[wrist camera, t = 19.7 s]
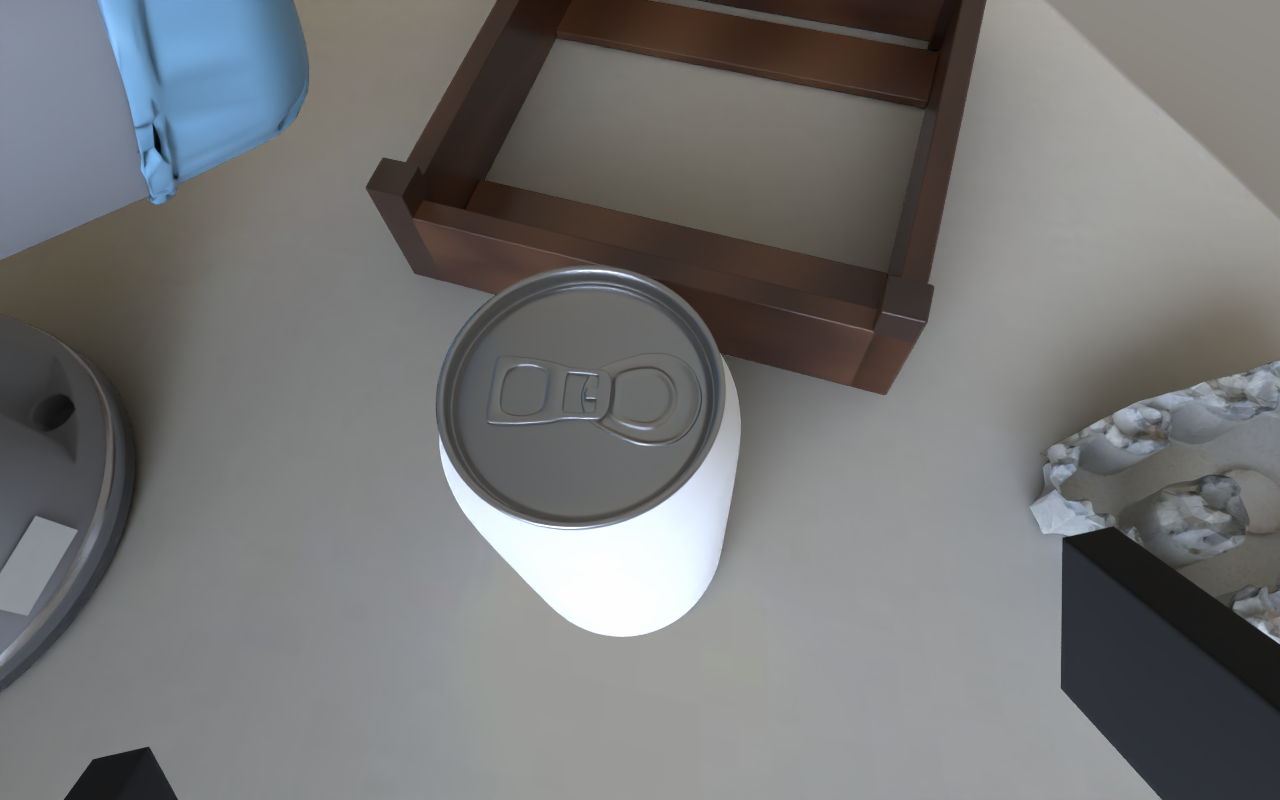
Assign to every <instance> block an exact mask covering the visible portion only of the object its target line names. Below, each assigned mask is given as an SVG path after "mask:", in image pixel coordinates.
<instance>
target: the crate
mask: <svg viewBox="0 0 1280 800" xmlns="http://www.w3.org/2000/svg"><path fill="white" fill-rule="evenodd" d="M700 1H705V2H711V3H717V4H723V5H728V6H734V7H740V8H745V9H751V10H757V11H762V12H768V13H774V14H779V15H785V16H791V17H796V18H802V19H808V20H813V21H819V22H825V23H830V24H836V25H842V26H848V27H853V28H859V29H865V30H870V31H876V32H882V33H887V34H893V35H899V36H904V37H910V38H916V39H921V40H927V41H929V45H928V49H932V50H937V51H939V52H935V51H929V50H923V49H918V48H912V47H906V46H901V45H895V44H890V43H884V42H878V41H873V40H867V39H862V38H856V37H850V36H845V35H839V34H833V33H828V32H822V31H817V30H811V29H805V28H800V27H794V26H789V25H783V24H777V23H772V22H766V21H761V20H755V19H749V18H744V17H738V16H732V15H727V14H721V13H716V12H710V11H704V10H699V9H693V8H688V7H682V6H676V5H671V4H665V3H660V2H654V1H648V0H497V2H496V4H495V5H494V7H493V9H492V11H491V12H490V14H489V16H488V18H487V20H486V21H485V23H484V25H483V27H482V28H481V30H480V32H479V34H478V35H477V37H476V39H475V41H474V43H473V44H472V46H471V48H470V50H469V51H468V53H467V55H466V57H465V58H464V60H463V62H462V64H461V66H460V67H459V69H458V71H457V73H456V74H455V76H454V78H453V80H452V81H451V83H450V85H449V87H448V89H447V90H446V92H445V94H444V96H443V97H442V99H441V101H440V103H439V104H438V106H437V108H436V110H435V112H434V113H433V115H432V117H431V119H430V120H429V122H428V124H427V126H426V127H425V129H424V131H423V133H422V135H421V136H420V138H419V140H418V142H417V143H416V145H415V147H414V149H413V150H412V152H411V154H410V156H409V158H408V159H407V161H406V163H405V162H401V161H397V160H393V159H388V158H382V160H381V161H380V163H379V165H378V167H377V168H376V170H375V172H374V173H373V175H372V177H371V179H370V180H369V182H368V184H367V186H366V190H367V191H368V193H369V195H370V197H371V198H372V200H373V202H374V204H375V205H376V207H377V209H378V211H379V212H380V214H381V216H382V218H383V219H384V221H385V223H386V225H387V226H388V228H389V230H390V231H391V233H392V235H393V237H394V238H395V240H396V242H397V244H398V245H399V247H400V249H401V251H402V252H403V254H404V256H405V258H406V259H407V261H408V263H409V265H410V266H411V268H412V270H413V271H414V273H415V274H418V275H422V276H426V277H430V278H434V279H438V280H442V281H446V282H450V283H454V284H458V285H462V286H465V287H469V288H473V289H477V290H481V291H485V292H489V293H492V294H498V293H499V292H501V291H502V290H504V289H506V288H507V287H509V286H511V285H513V284H514V283H516V282H518V281H521V280H523V279H525V278H527V277H530V276H532V275H535V274H538V273H541V272H545V271H548V270H552V269H557V268H562V267H569V266H580V265H598V266H609V267H615V268H621V269H625V270H629V271H633V272H636V273H639V274H642V275H644V276H647V277H649V278H651V279H653V280H655V281H657V282H659V283H661V284H663V285H665V286H666V287H668V288H669V289H671V290H672V291H674V292H675V293H677V294H678V295H679V296H680V297H682V298H683V299H684V300H685V301H686V302H687V303H688V304H689V305H690V306H691V307H692V308H693V309H694V310H695V311H696V312H697V313H698V314H699V316H700V317H701V318H702V320H703V321H704V322H705V324H706V325H707V327H708V329H709V330H710V332H711V334H712V336H713V338H714V340H715V342H716V344H717V347H718V349H719V352H720V353H724V354H728V355H732V356H736V357H739V358H743V359H747V360H751V361H755V362H759V363H763V364H766V365H770V366H774V367H778V368H782V369H786V370H790V371H794V372H797V373H801V374H805V375H809V376H813V377H817V378H821V379H824V380H828V381H832V382H836V383H840V384H844V385H848V386H851V387H855V388H859V389H863V390H867V391H871V392H875V393H878V394H882V395H886V394H887V392H888V390H889V388H890V387H891V385H892V383H893V382H894V380H895V378H896V376H897V375H898V373H899V371H900V369H901V368H902V366H903V364H904V362H905V361H906V359H907V357H908V355H909V354H910V352H911V350H912V349H913V347H914V345H915V343H916V342H917V339H918V338H919V336H920V334H921V332H922V331H923V329H924V327H925V325H926V324H927V322H928V317H929V312H930V307H931V302H932V297H933V292H934V286H933V285H931V284H928V282H929V277H930V273H931V268H932V263H933V258H934V253H935V248H936V243H937V238H938V234H939V229H940V224H941V219H942V214H943V209H944V204H945V199H946V194H947V190H948V185H949V180H950V175H951V170H952V165H953V160H954V155H955V150H956V146H957V141H958V136H959V131H960V126H961V121H962V116H963V111H964V107H965V102H966V97H967V92H968V87H969V82H970V77H971V72H972V67H973V63H974V58H975V53H976V48H977V43H978V38H979V33H980V28H981V23H982V19H983V14H984V9H985V4H986V0H700ZM556 37H558V38H562V39H568V40H573V41H578V42H583V43H588V44H594V45H599V46H604V47H609V48H615V49H620V50H625V51H630V52H636V53H641V54H646V55H651V56H656V57H662V58H667V59H672V60H677V61H683V62H688V63H693V64H698V65H703V66H709V67H714V68H719V69H724V70H730V71H735V72H740V73H745V74H750V75H756V76H761V77H766V78H771V79H777V80H782V81H787V82H792V83H797V84H803V85H808V86H813V87H818V88H824V89H829V90H834V91H839V92H844V93H850V94H855V95H860V96H865V97H871V98H876V99H881V100H886V101H892V102H897V103H902V104H907V105H912V106H918V107H923V108H925V107H926V110H925V114H924V118H923V123H922V127H921V131H920V136H919V140H918V144H917V149H916V153H915V157H914V162H913V166H912V170H911V175H910V179H909V183H908V188H907V192H906V196H905V201H904V205H903V209H902V214H901V218H900V222H899V227H898V231H897V235H896V240H895V244H894V248H893V252H892V257H891V261H890V265H889V270H888V274H887V273H883V272H879V271H875V270H870V269H866V268H862V267H857V266H853V265H849V264H844V263H840V262H836V261H831V260H827V259H823V258H818V257H814V256H810V255H805V254H801V253H797V252H792V251H788V250H784V249H779V248H775V247H771V246H766V245H762V244H758V243H753V242H749V241H745V240H740V239H736V238H732V237H727V236H723V235H719V234H714V233H710V232H706V231H701V230H697V229H693V228H688V227H684V226H680V225H675V224H671V223H667V222H662V221H658V220H654V219H650V218H645V217H641V216H637V215H632V214H628V213H624V212H619V211H615V210H611V209H606V208H602V207H598V206H593V205H589V204H585V203H580V202H576V201H572V200H567V199H563V198H559V197H554V196H550V195H546V194H541V193H537V192H533V191H528V190H524V189H520V188H515V187H511V186H507V185H502V184H498V183H494V182H489V181H485V180H484V179H485V177H486V175H487V173H488V171H489V169H490V167H491V165H492V163H493V161H494V159H495V157H496V155H497V153H498V151H499V149H500V147H501V145H502V143H503V141H504V139H505V138H506V136H507V134H508V132H509V130H510V128H511V126H512V124H513V122H514V120H515V118H516V116H517V114H518V112H519V110H520V108H521V106H522V104H523V102H524V100H525V98H526V96H527V94H528V92H529V90H530V88H531V86H532V84H533V82H534V80H535V78H536V76H537V75H538V73H539V71H540V69H541V67H542V65H543V63H544V61H545V59H546V57H547V55H548V53H549V51H550V49H551V47H552V45H553V43H554V41H555V39H556Z"/></svg>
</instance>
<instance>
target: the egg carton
mask: <svg viewBox="0 0 1280 800" xmlns="http://www.w3.org/2000/svg"><path fill="white" fill-rule="evenodd" d="M1040 454H1042V455H1045V456H1047V457H1048V458H1049V460H1050V462H1048V463H1046V464H1045V465H1044V466H1043V473H1044V480H1045V484H1044V487H1043V490H1042V493H1041V495H1040V496H1039V497H1038V498H1036V499H1035V501H1034V502H1033V503H1032V504H1031V506H1030V509H1031V511H1032V513H1033V515H1034V517H1035V518H1036V520H1037V522H1038V523H1039V525H1040V528H1041V531H1042V532H1043V533H1044V534H1050V533H1057V534H1064V535H1067V536H1073V535H1077V534H1082V533H1086V532H1090V531H1095V530H1099V529H1104V528H1108V527H1112V526H1114V527H1115V528H1117V529H1118V530H1119V531H1121V532H1122V533H1124V534H1125V535H1126V536H1128V537H1129V538H1131V539H1132V540H1134V541H1135V542H1136V543H1138V544H1139V545H1141V546H1142V547H1143V548H1145V549H1146V550H1148V551H1149V552H1150V553H1152V554H1153V555H1155V556H1156V557H1158V558H1159V559H1160V560H1162V561H1163V562H1165V563H1166V564H1167V565H1169V566H1170V567H1172V568H1173V569H1174V570H1176V571H1177V572H1179V573H1180V574H1181V575H1183V576H1184V577H1186V578H1187V579H1189V580H1190V581H1191V582H1193V583H1194V584H1196V585H1197V586H1198V587H1200V588H1201V589H1203V590H1204V591H1205V592H1207V593H1208V594H1210V595H1211V596H1213V597H1214V598H1215V599H1217V600H1218V601H1220V602H1221V603H1222V604H1224V605H1225V606H1227V607H1228V608H1229V609H1231V610H1232V611H1234V612H1235V613H1237V614H1238V615H1239V616H1241V617H1242V618H1244V619H1245V620H1246V621H1248V622H1249V623H1251V624H1252V625H1253V626H1255V627H1256V628H1258V629H1259V630H1261V631H1262V632H1263V633H1265V634H1266V635H1268V636H1269V637H1270V638H1272V639H1273V640H1275V641H1276V642H1277V643H1279V644H1280V360H1277V361H1274V362H1271V363H1267V364H1265V365H1262V366H1260V367H1257V368H1255V369H1252V370H1249V371H1246V372H1243V373H1239V374H1235V375H1232V376H1228V377H1223V378H1218V379H1214V380H1210V381H1206V382H1203V383H1200V384H1198V385H1195V386H1193V387H1191V388H1187V389H1183V390H1179V391H1175V392H1171V393H1167V394H1164V395H1161V396H1157V397H1154V398H1150V399H1146V400H1142V401H1138V402H1136V403H1134V404H1132V405H1130V406H1128V407H1126V408H1124V409H1122V410H1120V411H1118V412H1115V413H1113V414H1111V415H1109V416H1107V417H1105V418H1103V419H1101V420H1100V421H1098V422H1096V423H1094V424H1092V425H1090V426H1089V427H1087V428H1085V429H1083V430H1081V431H1079V432H1077V433H1076V434H1074V435H1071V436H1069V437H1067V438H1065V439H1063V440H1061V441H1059V442H1057V443H1055V444H1054V445H1053V446H1051V447H1049V448H1047V449H1045V450H1043V451H1041V453H1040Z"/></svg>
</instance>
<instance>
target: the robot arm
mask: <svg viewBox="0 0 1280 800" xmlns="http://www.w3.org/2000/svg"><path fill="white" fill-rule="evenodd" d="M308 85H309V60H308V53H307V47H306V42H305V39H304V35H303V31H302V28H301V24H300V21H299V17H298V14H297V11H296V7H295V4H294V1H293V0H0V260H2V259H4V258H7V257H9V256H11V255H13V254H16V253H18V252H20V251H23V250H25V249H27V248H30V247H32V246H34V245H37V244H39V243H41V242H44V241H46V240H48V239H50V238H53V237H55V236H57V235H60V234H62V233H64V232H67V231H69V230H71V229H74V228H76V227H78V226H81V225H83V224H85V223H87V222H90V221H92V220H94V219H97V218H99V217H101V216H104V215H106V214H108V213H111V212H113V211H115V210H118V209H120V208H122V207H124V206H127V205H129V204H131V203H134V202H136V201H138V200H141V199H143V198H145V197H147V199H148V200H149V201H150V202H152V203H154V204H156V205H159V204H161V203H164V202H167V201H168V200H170V199H171V198H172V197H174V196H175V193H176V190H177V187H178V185H179V184H181V183H183V182H185V181H187V180H189V179H191V178H193V177H195V176H197V175H200V174H202V173H204V172H206V171H208V170H210V169H212V168H214V167H216V166H218V165H220V164H222V163H224V162H226V161H228V160H231V159H233V158H235V157H237V156H239V155H241V154H243V153H245V152H247V151H249V150H251V149H253V148H255V147H257V146H259V145H261V144H264V143H266V142H268V141H270V140H271V139H273V138H275V137H276V136H278V135H279V134H280V133H281V132H282V131H284V130H285V129H286V128H287V127H288V126H290V124H291V123H292V122H293V121H294V120H295V118H296V117H297V115H298V113H299V111H300V109H301V107H302V104H303V102H304V99H305V96H306V94H307V92H308ZM134 474H135V449H134V440H133V434H132V428H131V424H130V421H129V417H128V414H127V411H126V409H125V406H124V404H123V402H122V400H121V398H120V396H119V394H118V392H117V391H116V389H115V388H114V386H113V384H112V383H111V382H110V380H109V379H108V378H107V377H106V376H105V374H104V373H103V372H102V371H101V370H100V369H99V368H98V367H97V366H95V365H94V364H93V363H92V362H91V361H90V360H88V359H87V358H85V357H84V356H82V355H81V354H80V353H78V352H77V351H75V350H73V349H72V348H70V347H69V346H67V345H66V344H64V343H63V342H61V341H59V340H58V339H56V338H55V337H53V336H52V335H50V334H48V333H46V332H44V331H42V330H40V329H38V328H36V327H34V326H31V325H28V324H25V323H23V322H21V321H18V320H16V319H13V318H10V317H8V316H5V315H2V314H0V692H1V691H2V690H3V689H5V688H6V687H8V686H9V685H10V684H11V683H12V682H13V681H15V680H16V679H17V678H18V677H19V676H20V675H22V674H23V673H24V672H25V671H26V670H27V669H29V668H30V667H31V666H32V665H33V664H34V663H35V662H36V661H37V660H38V659H39V658H40V657H41V656H42V655H43V654H44V653H45V652H46V651H47V650H48V649H49V648H50V647H51V646H52V645H53V643H54V642H55V641H56V640H57V639H58V638H59V637H60V635H61V634H62V633H63V632H64V631H65V630H66V629H67V627H68V626H69V625H70V623H71V622H72V621H73V620H74V618H75V617H76V616H77V614H78V613H79V612H80V610H81V609H82V608H83V606H84V605H85V603H86V602H87V600H88V599H89V597H90V595H91V594H92V592H93V591H94V589H95V588H96V586H97V584H98V583H99V581H100V579H101V577H102V575H103V574H104V572H105V570H106V568H107V566H108V564H109V562H110V560H111V558H112V556H113V553H114V551H115V549H116V547H117V544H118V542H119V539H120V536H121V534H122V531H123V528H124V525H125V522H126V518H127V515H128V511H129V507H130V503H131V498H132V491H133V485H134ZM1061 689H1062V690H1063V691H1064V692H1065V693H1066V694H1067V696H1068V697H1069V698H1070V699H1071V700H1072V701H1073V702H1074V703H1075V704H1076V705H1077V707H1078V708H1079V709H1080V710H1081V711H1082V712H1083V713H1084V714H1085V715H1086V716H1087V718H1088V719H1089V720H1090V721H1091V722H1092V723H1093V724H1094V725H1095V726H1096V727H1097V729H1098V730H1099V731H1100V732H1101V733H1102V734H1103V735H1104V736H1105V737H1106V738H1107V740H1108V741H1109V742H1110V743H1111V744H1112V745H1113V746H1114V747H1115V748H1116V749H1117V751H1118V752H1119V753H1120V754H1121V755H1122V756H1123V757H1124V758H1125V759H1126V760H1127V762H1128V763H1129V764H1130V765H1131V766H1132V767H1133V768H1134V769H1135V770H1136V771H1137V773H1138V774H1139V775H1140V776H1141V777H1142V778H1143V779H1144V780H1145V781H1146V782H1147V784H1148V785H1149V786H1150V787H1151V788H1152V789H1153V790H1154V791H1155V792H1156V793H1157V795H1158V796H1159V797H1160V798H1161V799H1162V800H1280V644H1279V643H1277V642H1276V641H1275V640H1273V639H1272V638H1270V637H1269V636H1268V635H1266V634H1265V633H1263V632H1262V631H1261V630H1259V629H1258V628H1256V627H1255V626H1253V625H1252V624H1251V623H1249V622H1248V621H1246V620H1245V619H1244V618H1242V617H1241V616H1239V615H1238V614H1237V613H1235V612H1234V611H1232V610H1231V609H1229V608H1228V607H1227V606H1225V605H1224V604H1222V603H1221V602H1220V601H1218V600H1217V599H1215V598H1214V597H1213V596H1211V595H1210V594H1208V593H1207V592H1205V591H1204V590H1203V589H1201V588H1200V587H1198V586H1197V585H1196V584H1194V583H1193V582H1191V581H1190V580H1189V579H1187V578H1186V577H1184V576H1183V575H1181V574H1180V573H1179V572H1177V571H1176V570H1174V569H1173V568H1172V567H1170V566H1169V565H1167V564H1166V563H1165V562H1163V561H1162V560H1160V559H1159V558H1158V557H1156V556H1155V555H1153V554H1152V553H1150V552H1149V551H1148V550H1146V549H1145V548H1143V547H1142V546H1141V545H1139V544H1138V543H1136V542H1135V541H1134V540H1132V539H1131V538H1129V537H1128V536H1126V535H1125V534H1124V533H1122V532H1121V531H1119V530H1118V529H1117V528H1115V527H1114V526H1112V527H1108V528H1104V529H1099V530H1095V531H1090V532H1086V533H1082V534H1077V535H1073V536H1069V537H1064V538H1063V552H1062V637H1061ZM64 800H178V799H177V797H176V795H175V793H174V792H173V790H172V788H171V786H170V784H169V782H168V781H167V779H166V777H165V775H164V773H163V771H162V770H161V768H160V766H159V764H158V762H157V760H156V759H155V757H154V755H153V753H152V751H151V749H150V748H149V747H145V748H141V749H137V750H132V751H128V752H123V753H119V754H115V755H110V756H106V757H102V758H97V759H93V760H92V762H91V763H90V764H89V766H88V767H87V768H86V770H85V771H84V773H83V774H82V775H81V777H80V778H79V779H78V781H77V782H76V784H75V785H74V786H73V788H72V789H71V790H70V792H69V793H68V795H67V796H66V797H65V799H64Z"/></svg>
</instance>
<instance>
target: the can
mask: <svg viewBox="0 0 1280 800" xmlns="http://www.w3.org/2000/svg"><path fill="white" fill-rule="evenodd" d="M436 416H437V424H438V430H439V445H440V454H441V460H442V465H443V469H444V472H445V475H446V478H447V481H448V484H449V486H450V488H451V490H452V492H453V494H454V496H455V498H456V500H457V502H458V504H459V506H460V507H461V509H462V510H463V512H464V513H465V515H466V516H467V517H468V519H469V520H470V521H471V522H472V524H473V525H474V526H475V527H476V529H477V530H478V531H479V532H480V533H481V534H482V535H483V537H484V538H485V539H486V540H487V541H488V542H489V543H490V544H491V545H492V546H493V547H494V548H495V550H496V551H497V552H498V553H499V554H500V555H501V556H502V557H503V558H504V559H505V560H506V561H507V562H508V563H509V564H510V565H511V566H512V567H513V568H514V569H515V570H516V572H517V573H518V574H519V575H520V576H521V577H522V578H523V579H524V580H525V581H526V582H527V583H528V584H529V585H530V586H531V587H532V588H533V589H534V590H535V591H536V592H537V593H538V594H539V595H540V596H541V597H542V598H543V599H544V600H545V601H546V602H547V603H548V604H549V605H550V606H551V607H552V608H553V609H554V610H556V611H557V612H558V613H559V614H560V615H562V616H563V617H564V618H566V619H567V620H568V621H570V622H572V623H573V624H575V625H577V626H579V627H581V628H583V629H586V630H588V631H591V632H594V633H598V634H602V635H608V636H620V637H622V636H636V635H642V634H646V633H650V632H653V631H656V630H658V629H661V628H663V627H665V626H667V625H669V624H671V623H673V622H674V621H676V620H677V619H679V618H680V617H681V616H683V615H684V614H685V613H686V612H688V611H689V610H690V609H691V608H692V607H693V606H694V605H695V604H696V602H697V601H698V600H699V599H700V598H701V596H702V595H703V593H704V592H705V590H706V589H707V587H708V586H709V584H710V582H711V580H712V578H713V576H714V574H715V572H716V569H717V566H718V563H719V559H720V555H721V550H722V546H723V540H724V535H725V530H726V525H727V520H728V514H729V509H730V503H731V498H732V492H733V486H734V480H735V475H736V468H737V462H738V456H739V447H740V437H741V417H740V407H739V400H738V395H737V391H736V387H735V384H734V381H733V378H732V375H731V373H730V370H729V368H728V366H727V364H726V362H725V360H724V358H723V357H722V355H721V353H720V352H719V349H718V347H717V344H716V342H715V340H714V338H713V336H712V334H711V332H710V330H709V329H708V327H707V325H706V324H705V322H704V321H703V320H702V318H701V317H700V316H699V314H698V313H697V312H696V311H695V310H694V309H693V308H692V307H691V306H690V305H689V304H688V303H687V302H686V301H685V300H684V299H683V298H682V297H680V296H679V295H678V294H677V293H675V292H674V291H672V290H671V289H669V288H668V287H666V286H665V285H663V284H661V283H659V282H657V281H655V280H653V279H651V278H649V277H647V276H644V275H642V274H639V273H636V272H633V271H629V270H625V269H621V268H615V267H609V266H598V265H580V266H569V267H562V268H557V269H552V270H548V271H545V272H541V273H538V274H535V275H532V276H530V277H527V278H525V279H523V280H521V281H518V282H516V283H514V284H513V285H511V286H509V287H507V288H506V289H504V290H502V291H501V292H499V293H498V294H496V295H495V296H494V297H492V298H491V299H490V300H488V301H487V302H486V303H485V304H484V305H483V306H481V307H480V308H479V309H478V310H477V311H476V312H475V313H474V314H473V315H472V316H471V317H470V319H469V320H468V321H467V322H466V323H465V325H464V326H463V327H462V329H461V330H460V331H459V333H458V334H457V336H456V338H455V339H454V341H453V343H452V345H451V346H450V348H449V350H448V353H447V355H446V357H445V360H444V362H443V365H442V368H441V372H440V376H439V380H438V385H437V393H436Z"/></svg>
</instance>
